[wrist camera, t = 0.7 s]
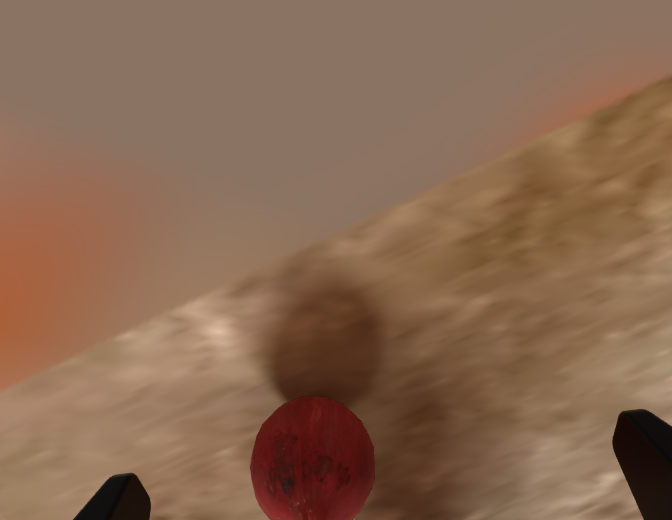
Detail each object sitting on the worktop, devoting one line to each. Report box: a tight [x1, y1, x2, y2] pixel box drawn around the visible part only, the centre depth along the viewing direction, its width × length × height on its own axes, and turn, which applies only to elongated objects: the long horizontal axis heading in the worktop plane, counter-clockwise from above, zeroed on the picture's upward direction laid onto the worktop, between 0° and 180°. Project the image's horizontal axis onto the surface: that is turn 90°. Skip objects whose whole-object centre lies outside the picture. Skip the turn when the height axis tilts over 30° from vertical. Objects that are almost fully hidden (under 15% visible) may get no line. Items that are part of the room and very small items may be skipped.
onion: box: [250, 396, 375, 520], centre depth 22 cm, size 6×6×8 cm
